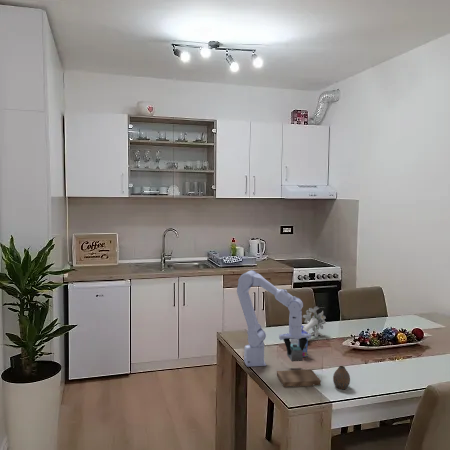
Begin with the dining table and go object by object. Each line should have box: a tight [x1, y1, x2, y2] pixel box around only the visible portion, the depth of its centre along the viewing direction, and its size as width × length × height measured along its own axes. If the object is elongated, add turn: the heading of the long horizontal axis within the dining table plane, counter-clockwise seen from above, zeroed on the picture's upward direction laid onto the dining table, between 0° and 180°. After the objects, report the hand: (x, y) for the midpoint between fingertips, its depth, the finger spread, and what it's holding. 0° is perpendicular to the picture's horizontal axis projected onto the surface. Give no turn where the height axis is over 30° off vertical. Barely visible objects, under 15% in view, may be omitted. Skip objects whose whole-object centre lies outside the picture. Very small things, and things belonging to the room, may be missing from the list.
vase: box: [332, 365, 351, 390], centre depth 187 cm, size 7×7×9 cm
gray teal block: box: [286, 344, 304, 362], centre depth 205 cm, size 5×8×5 cm, turn 8°
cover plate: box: [290, 344, 301, 350], centre depth 205 cm, size 4×7×2 cm, turn 8°
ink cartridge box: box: [290, 325, 309, 358], centre depth 225 cm, size 10×6×14 cm, turn 16°
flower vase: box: [302, 305, 327, 338], centre depth 250 cm, size 13×18×25 cm
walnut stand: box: [276, 368, 322, 388], centre depth 193 cm, size 16×12×2 cm
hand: (294, 354), depth 205 cm, fingers closed on gray teal block, 5 cm apart
